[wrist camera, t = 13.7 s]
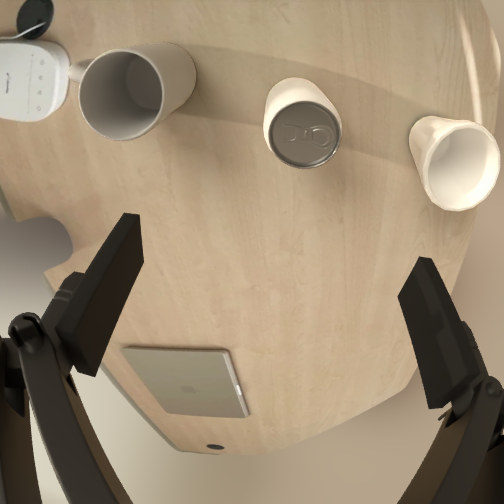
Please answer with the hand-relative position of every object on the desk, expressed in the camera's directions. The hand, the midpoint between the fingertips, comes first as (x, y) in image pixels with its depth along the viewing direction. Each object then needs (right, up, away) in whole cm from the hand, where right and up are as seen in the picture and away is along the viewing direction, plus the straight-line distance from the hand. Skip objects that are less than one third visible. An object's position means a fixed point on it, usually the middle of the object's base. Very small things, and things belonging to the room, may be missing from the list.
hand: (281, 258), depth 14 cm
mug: (-13, +21, +17) cm, 29 cm away
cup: (+20, +14, +19) cm, 31 cm away
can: (+3, +17, +18) cm, 25 cm away
